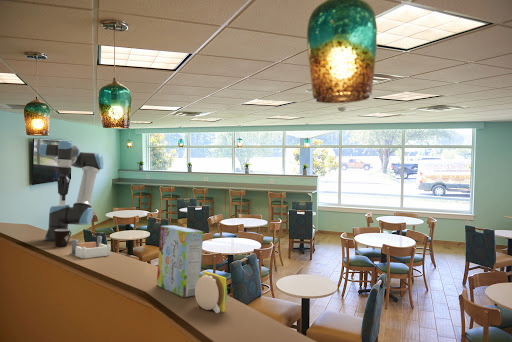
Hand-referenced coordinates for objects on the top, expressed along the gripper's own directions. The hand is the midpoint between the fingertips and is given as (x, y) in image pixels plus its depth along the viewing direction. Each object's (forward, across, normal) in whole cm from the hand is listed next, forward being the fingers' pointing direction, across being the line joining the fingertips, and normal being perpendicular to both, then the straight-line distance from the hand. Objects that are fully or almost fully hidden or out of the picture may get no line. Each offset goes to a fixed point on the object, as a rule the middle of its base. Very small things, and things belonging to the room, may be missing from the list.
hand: (62, 205), depth 222 cm
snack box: (+23, +110, 0) cm, 112 cm away
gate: (+24, +21, +4) cm, 32 cm away
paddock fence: (+25, +26, +5) cm, 37 cm away
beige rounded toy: (+23, +134, -5) cm, 136 cm away
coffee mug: (+26, -6, +5) cm, 27 cm away
